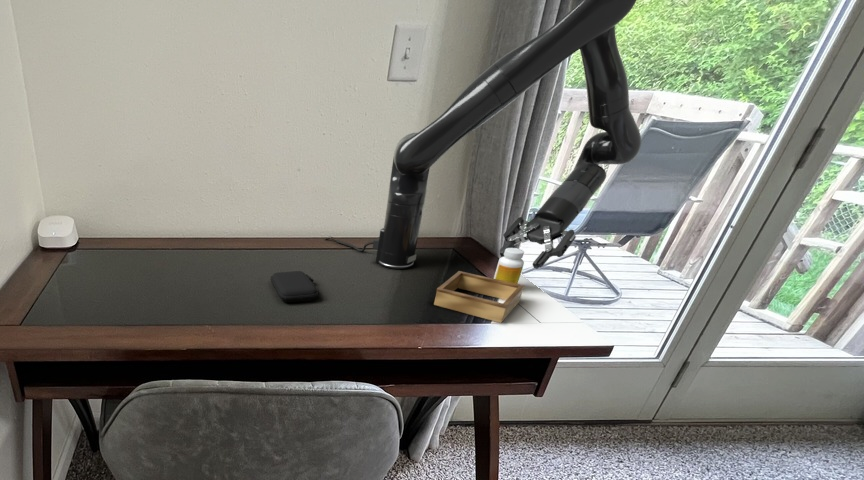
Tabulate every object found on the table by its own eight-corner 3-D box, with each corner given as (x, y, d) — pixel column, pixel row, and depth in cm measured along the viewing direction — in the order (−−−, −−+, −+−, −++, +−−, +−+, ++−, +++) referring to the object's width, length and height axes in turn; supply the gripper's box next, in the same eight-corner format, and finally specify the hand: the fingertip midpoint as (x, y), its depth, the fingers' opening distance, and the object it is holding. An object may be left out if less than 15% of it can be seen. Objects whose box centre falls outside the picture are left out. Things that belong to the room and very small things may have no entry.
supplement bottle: (518, 293, 115) (531, 254, 109) (494, 292, 116) (505, 253, 110) (511, 284, 119) (523, 246, 114) (488, 283, 120) (499, 246, 115)
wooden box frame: (433, 304, 111) (436, 288, 109) (455, 286, 119) (459, 270, 117) (501, 323, 102) (506, 306, 100) (519, 301, 111) (525, 285, 109)
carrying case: (324, 301, 114) (308, 278, 127) (325, 290, 113) (308, 267, 125) (281, 305, 113) (268, 281, 126) (281, 293, 112) (269, 270, 124)
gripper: (531, 190, 116) (487, 244, 118) (592, 202, 105) (542, 261, 107) (538, 209, 121) (495, 260, 123) (597, 222, 110) (549, 278, 112)
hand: (517, 261), depth 115 cm, fingers open, 8 cm apart
